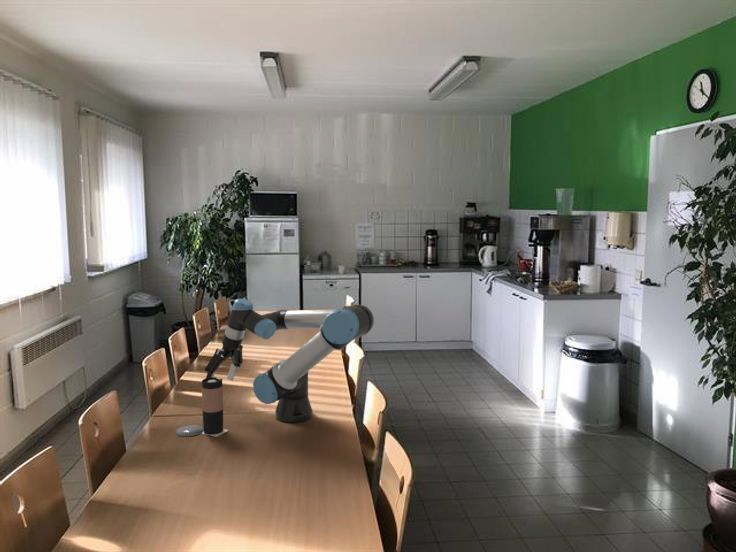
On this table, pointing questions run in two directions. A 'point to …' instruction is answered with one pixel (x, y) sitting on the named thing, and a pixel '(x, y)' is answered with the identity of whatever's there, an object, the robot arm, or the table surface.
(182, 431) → the slate coaster
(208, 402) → the travel mug
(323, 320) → the robot arm
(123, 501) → the table surface
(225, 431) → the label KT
